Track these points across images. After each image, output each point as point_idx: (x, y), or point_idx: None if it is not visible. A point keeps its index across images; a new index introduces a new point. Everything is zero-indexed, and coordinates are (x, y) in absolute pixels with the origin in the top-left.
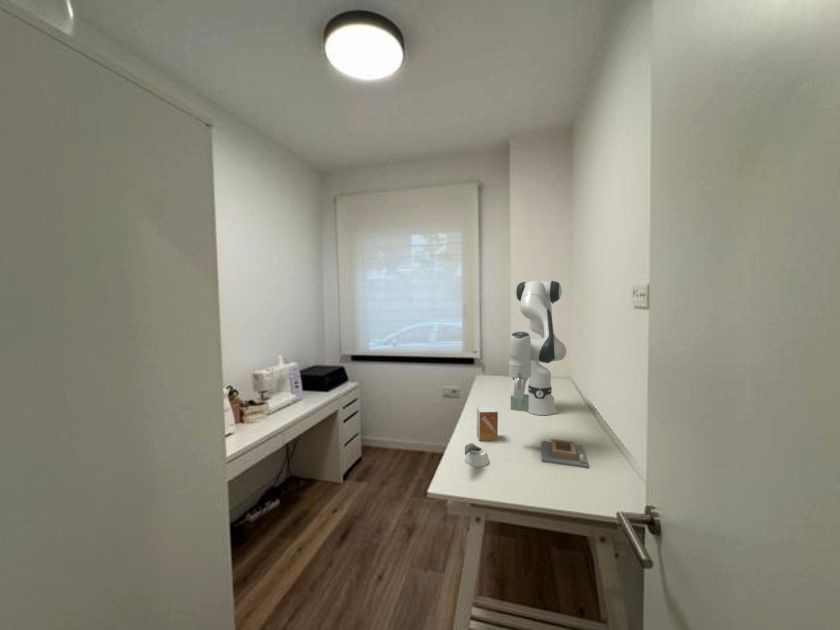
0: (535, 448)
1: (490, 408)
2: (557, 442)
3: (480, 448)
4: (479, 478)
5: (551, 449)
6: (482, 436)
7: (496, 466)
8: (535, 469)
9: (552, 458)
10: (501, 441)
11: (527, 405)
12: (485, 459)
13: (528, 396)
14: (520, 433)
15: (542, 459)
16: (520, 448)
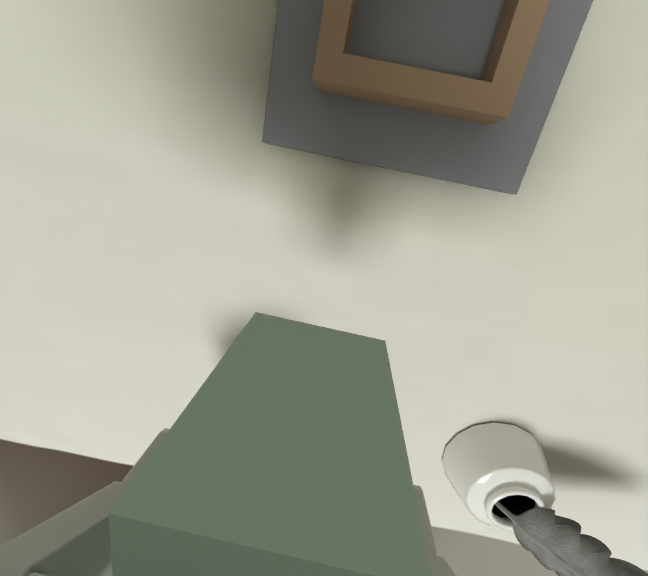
0: (351, 197)
1: None
2: (345, 40)
3: (503, 493)
4: (630, 465)
5: (384, 105)
6: None
7: (541, 400)
8: (590, 245)
9: (506, 127)
10: None
11: (392, 409)
12: (540, 456)
13: (334, 568)
14: (170, 244)
15: (514, 191)
16: (358, 276)
